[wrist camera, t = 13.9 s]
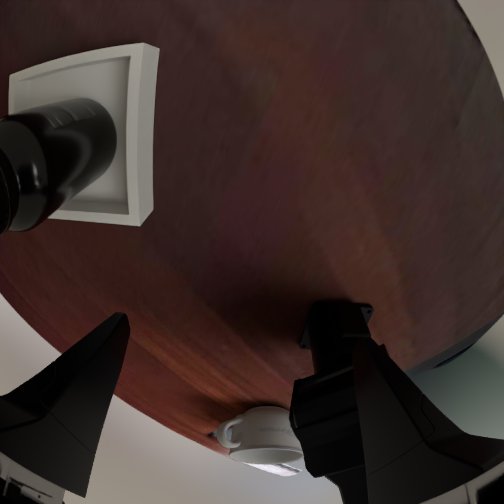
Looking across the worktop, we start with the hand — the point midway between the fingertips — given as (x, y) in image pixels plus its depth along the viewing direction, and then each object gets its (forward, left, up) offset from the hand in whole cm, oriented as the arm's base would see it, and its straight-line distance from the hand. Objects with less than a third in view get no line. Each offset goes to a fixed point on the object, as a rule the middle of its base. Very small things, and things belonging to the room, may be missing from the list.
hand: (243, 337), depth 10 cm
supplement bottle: (+4, +13, -12) cm, 19 cm away
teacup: (-32, -5, -13) cm, 35 cm away
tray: (+5, +14, -13) cm, 20 cm away
